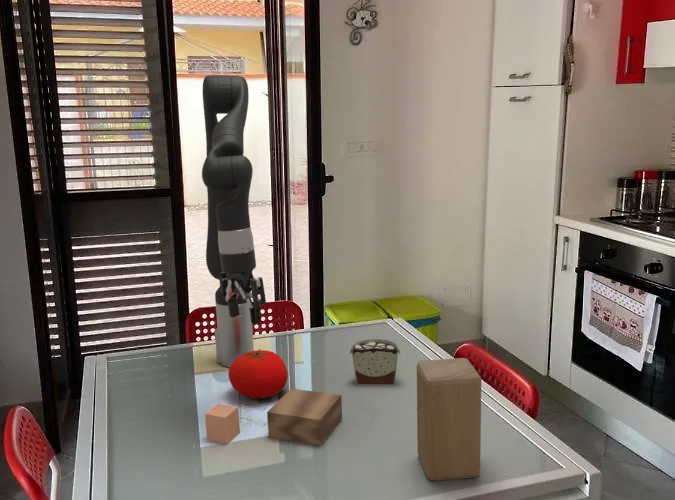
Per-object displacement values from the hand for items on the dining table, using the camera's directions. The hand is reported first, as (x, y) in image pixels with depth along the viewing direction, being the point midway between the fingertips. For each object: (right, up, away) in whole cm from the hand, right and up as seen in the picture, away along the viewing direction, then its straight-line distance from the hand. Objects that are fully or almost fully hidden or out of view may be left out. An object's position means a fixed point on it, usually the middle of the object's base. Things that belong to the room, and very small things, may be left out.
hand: (245, 319), depth 147 cm
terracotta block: (-3, -24, -7) cm, 25 cm away
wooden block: (+41, -26, -22) cm, 53 cm away
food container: (+30, -17, +18) cm, 39 cm away
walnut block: (+14, -23, -5) cm, 27 cm away
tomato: (+2, -19, +13) cm, 23 cm away
